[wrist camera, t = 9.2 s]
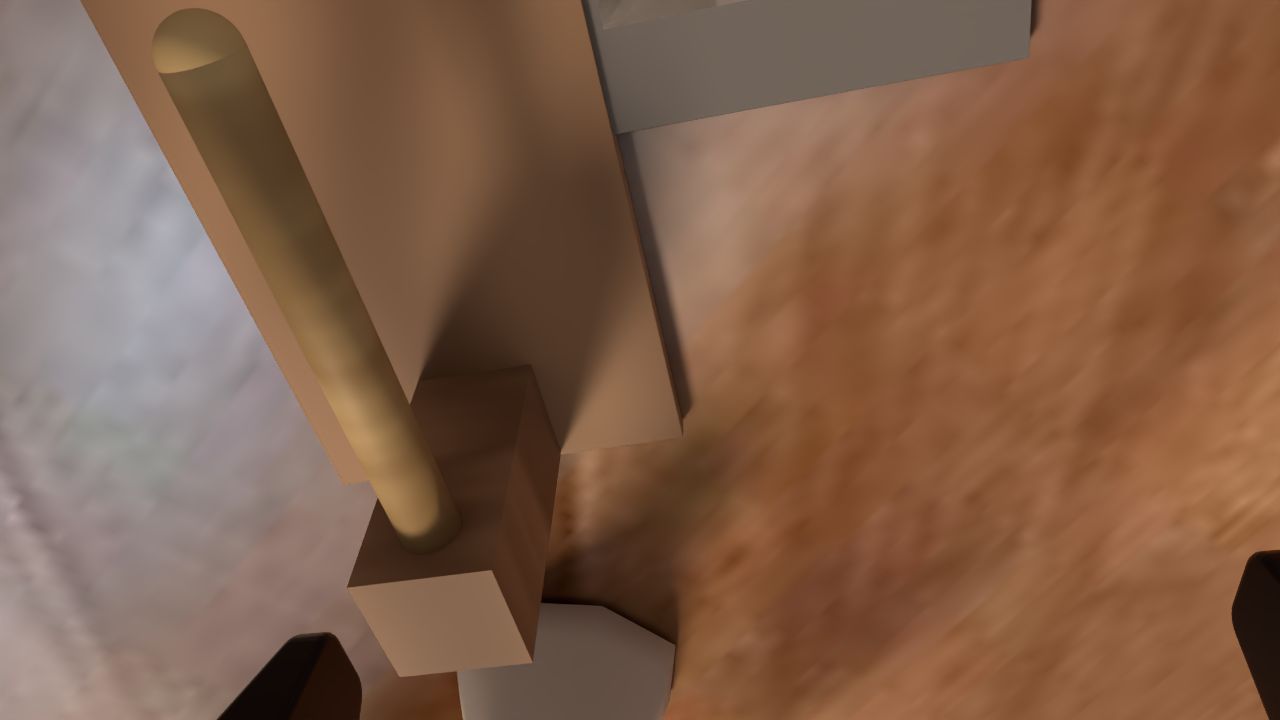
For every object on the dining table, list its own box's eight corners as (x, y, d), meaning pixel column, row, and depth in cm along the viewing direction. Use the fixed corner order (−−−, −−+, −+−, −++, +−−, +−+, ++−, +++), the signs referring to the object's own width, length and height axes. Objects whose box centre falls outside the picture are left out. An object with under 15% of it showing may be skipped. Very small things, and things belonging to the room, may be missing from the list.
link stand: (501, -360, 14) (400, -375, 9) (682, 422, 24) (687, 649, 18) (-17, -224, 16) (-386, -163, 10) (349, 468, 25) (260, 694, 19)
